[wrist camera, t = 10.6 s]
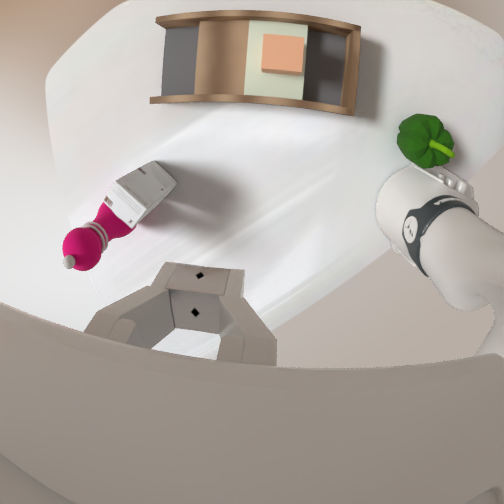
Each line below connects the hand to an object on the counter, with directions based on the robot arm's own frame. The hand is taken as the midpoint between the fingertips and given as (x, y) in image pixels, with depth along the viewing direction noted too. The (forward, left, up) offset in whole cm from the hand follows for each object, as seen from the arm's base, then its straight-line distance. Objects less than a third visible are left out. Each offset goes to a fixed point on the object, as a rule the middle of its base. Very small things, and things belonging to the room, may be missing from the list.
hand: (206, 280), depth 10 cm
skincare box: (+16, +6, -34) cm, 38 cm away
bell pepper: (-25, -6, -34) cm, 43 cm away
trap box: (+1, -14, -34) cm, 37 cm away
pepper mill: (+22, +11, -34) cm, 42 cm away
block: (-3, -14, -31) cm, 34 cm away
